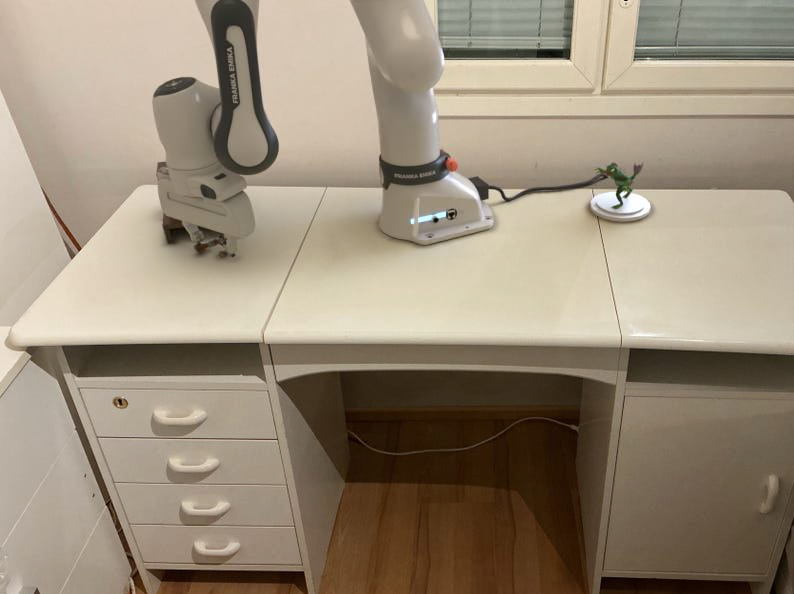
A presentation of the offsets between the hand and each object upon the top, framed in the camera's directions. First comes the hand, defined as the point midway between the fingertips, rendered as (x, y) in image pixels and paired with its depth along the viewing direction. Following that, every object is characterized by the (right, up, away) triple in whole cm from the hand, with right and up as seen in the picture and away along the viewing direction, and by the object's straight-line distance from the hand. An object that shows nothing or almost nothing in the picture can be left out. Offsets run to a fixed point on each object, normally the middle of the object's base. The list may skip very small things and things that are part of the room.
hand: (214, 246), depth 142 cm
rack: (-6, +7, +12) cm, 16 cm away
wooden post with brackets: (0, -1, +1) cm, 2 cm away
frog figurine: (+77, +10, +15) cm, 79 cm away
